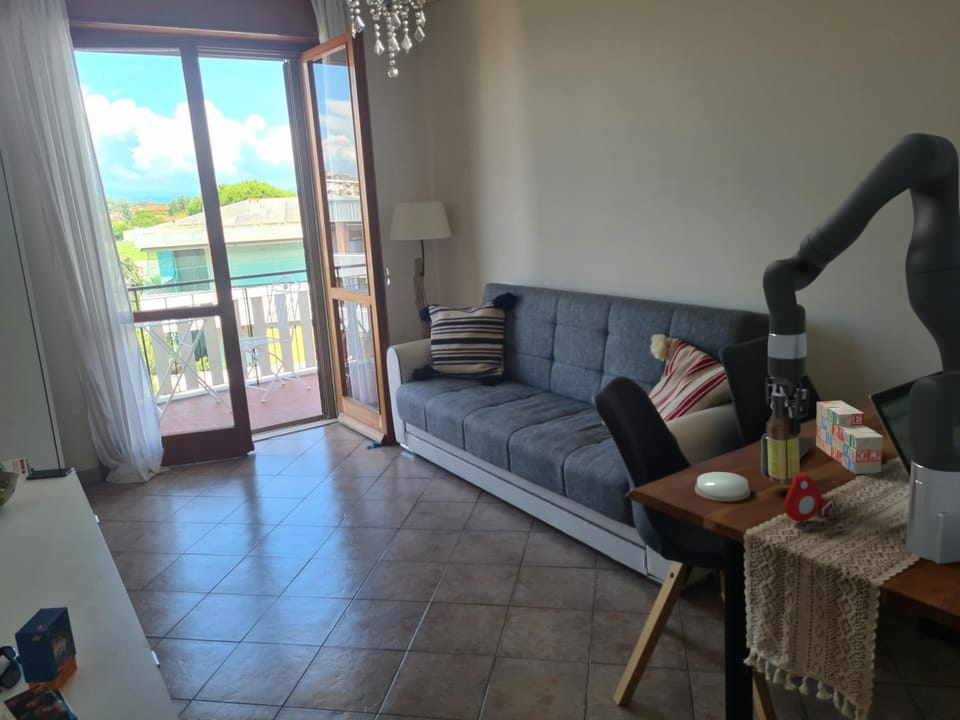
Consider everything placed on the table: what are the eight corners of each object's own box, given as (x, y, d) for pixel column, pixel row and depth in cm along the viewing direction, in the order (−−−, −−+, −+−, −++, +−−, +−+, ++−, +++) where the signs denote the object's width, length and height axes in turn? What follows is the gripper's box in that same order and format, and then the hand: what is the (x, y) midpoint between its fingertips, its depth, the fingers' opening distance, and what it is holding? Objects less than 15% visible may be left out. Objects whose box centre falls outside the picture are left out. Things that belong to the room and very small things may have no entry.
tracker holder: (789, 529, 142) (790, 482, 140) (775, 520, 147) (776, 474, 144) (840, 518, 145) (842, 472, 143) (824, 510, 150) (826, 465, 147)
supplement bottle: (781, 482, 156) (782, 429, 154) (754, 474, 162) (754, 423, 159) (800, 474, 159) (801, 423, 157) (773, 467, 165) (773, 417, 163)
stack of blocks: (881, 474, 166) (884, 424, 164) (854, 475, 167) (856, 425, 164) (839, 444, 187) (841, 399, 185) (815, 445, 187) (816, 400, 185)
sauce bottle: (795, 476, 157) (797, 389, 154) (802, 487, 151) (803, 396, 148) (764, 476, 159) (765, 389, 155) (769, 486, 153) (770, 396, 149)
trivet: (760, 498, 157) (760, 487, 157) (708, 504, 156) (708, 493, 156) (735, 478, 169) (735, 468, 168) (686, 484, 168) (686, 474, 167)
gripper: (823, 358, 143) (822, 437, 146) (785, 346, 157) (784, 419, 160) (788, 361, 143) (787, 441, 146) (753, 349, 157) (753, 422, 160)
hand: (786, 429), depth 153 cm, fingers closed on sauce bottle, 6 cm apart
